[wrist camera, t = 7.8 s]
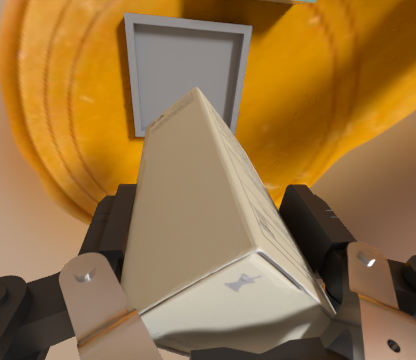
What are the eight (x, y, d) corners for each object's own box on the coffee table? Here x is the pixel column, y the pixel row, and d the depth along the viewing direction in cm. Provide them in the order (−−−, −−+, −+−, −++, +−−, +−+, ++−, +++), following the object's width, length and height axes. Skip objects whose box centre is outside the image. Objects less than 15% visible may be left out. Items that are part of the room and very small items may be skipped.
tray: (248, 25, 27) (252, 25, 26) (231, 133, 35) (234, 139, 34) (126, 12, 25) (123, 12, 24) (137, 130, 33) (135, 136, 31)
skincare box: (144, 126, 15) (91, 332, 5) (198, 81, 14) (258, 242, 4) (202, 184, 19) (235, 379, 9) (250, 152, 17) (351, 335, 8)
